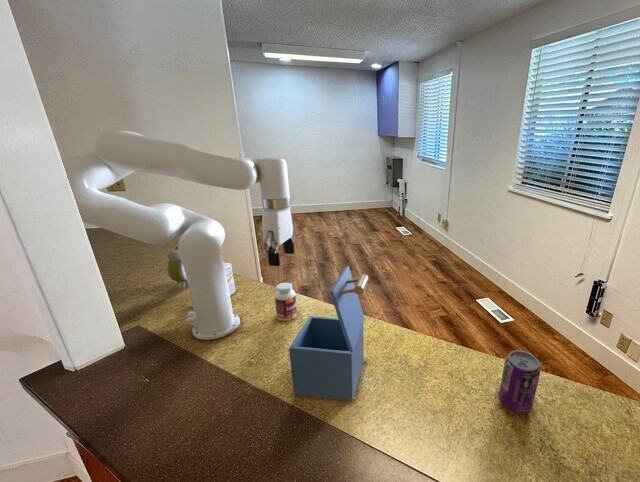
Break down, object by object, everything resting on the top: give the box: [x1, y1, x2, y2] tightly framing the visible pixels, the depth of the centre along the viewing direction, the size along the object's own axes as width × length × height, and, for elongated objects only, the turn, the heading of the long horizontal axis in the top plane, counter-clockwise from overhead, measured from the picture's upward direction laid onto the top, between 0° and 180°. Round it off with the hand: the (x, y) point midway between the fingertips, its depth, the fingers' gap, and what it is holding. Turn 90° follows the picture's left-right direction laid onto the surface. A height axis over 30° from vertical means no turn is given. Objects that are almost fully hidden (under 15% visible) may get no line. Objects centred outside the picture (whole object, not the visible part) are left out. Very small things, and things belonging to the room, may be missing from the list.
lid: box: [329, 265, 369, 352], centre depth 67 cm, size 14×13×6 cm
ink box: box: [224, 262, 236, 296], centre depth 108 cm, size 9×8×12 cm
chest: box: [288, 315, 365, 402], centre depth 72 cm, size 14×13×13 cm
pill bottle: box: [274, 282, 298, 322], centre depth 97 cm, size 6×6×11 cm
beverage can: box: [498, 349, 541, 415], centre depth 66 cm, size 7×7×12 cm
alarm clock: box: [166, 249, 188, 290], centre depth 116 cm, size 12×7×15 cm, turn 179°
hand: (282, 259), depth 92 cm, fingers open, 9 cm apart
